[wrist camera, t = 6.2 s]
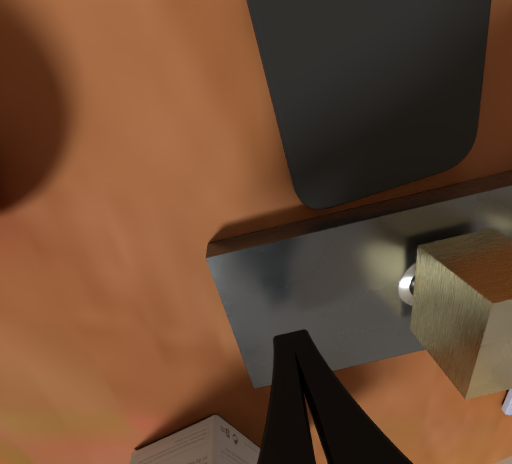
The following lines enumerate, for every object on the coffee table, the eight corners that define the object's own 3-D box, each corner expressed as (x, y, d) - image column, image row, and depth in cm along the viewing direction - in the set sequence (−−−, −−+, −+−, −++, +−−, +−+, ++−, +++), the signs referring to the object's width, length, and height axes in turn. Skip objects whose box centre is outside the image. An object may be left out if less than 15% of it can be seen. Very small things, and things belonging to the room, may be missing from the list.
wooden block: (469, 315, 13) (542, 382, 10) (410, 329, 13) (465, 399, 10) (489, 228, 11) (594, 280, 8) (417, 245, 11) (492, 303, 8)
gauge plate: (565, 296, 15) (760, 412, 10) (252, 369, 16) (266, 522, 10) (636, 141, 11) (1051, 185, 6) (207, 243, 11) (188, 385, 6)
